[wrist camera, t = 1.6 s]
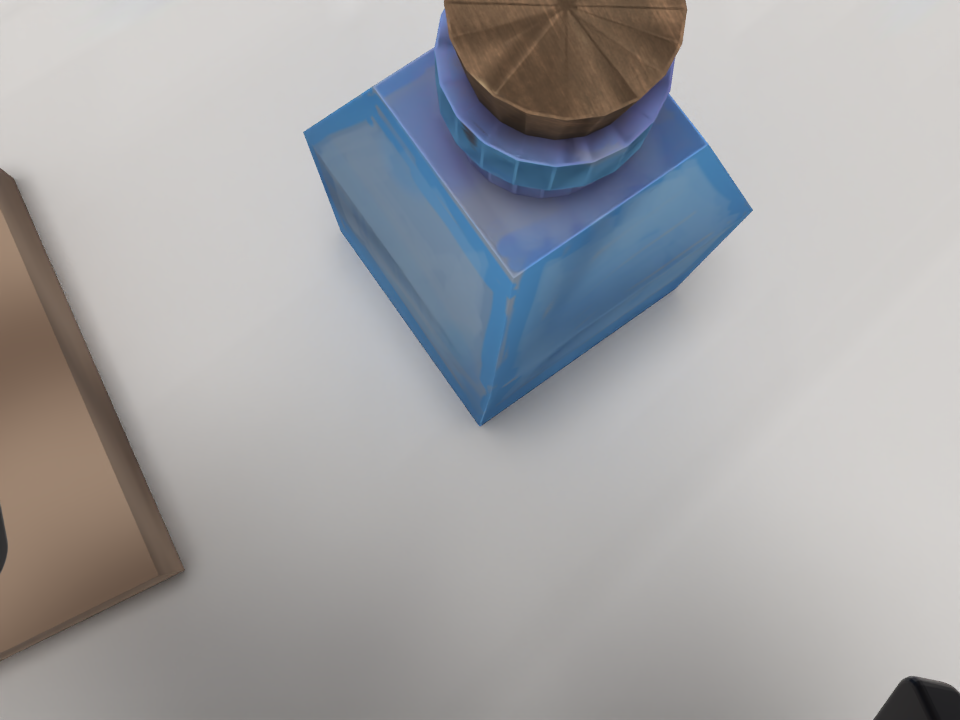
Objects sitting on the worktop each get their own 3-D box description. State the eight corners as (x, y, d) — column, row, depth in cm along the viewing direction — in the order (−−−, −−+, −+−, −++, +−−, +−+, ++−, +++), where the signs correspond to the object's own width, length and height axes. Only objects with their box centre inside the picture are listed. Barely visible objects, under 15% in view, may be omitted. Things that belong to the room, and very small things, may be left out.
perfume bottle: (675, 288, 24) (897, 63, 12) (480, 426, 23) (511, 332, 11) (534, 103, 25) (614, -283, 13) (340, 230, 24) (233, -53, 12)
